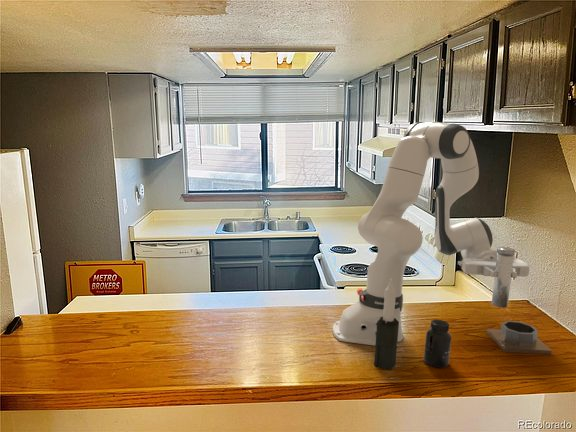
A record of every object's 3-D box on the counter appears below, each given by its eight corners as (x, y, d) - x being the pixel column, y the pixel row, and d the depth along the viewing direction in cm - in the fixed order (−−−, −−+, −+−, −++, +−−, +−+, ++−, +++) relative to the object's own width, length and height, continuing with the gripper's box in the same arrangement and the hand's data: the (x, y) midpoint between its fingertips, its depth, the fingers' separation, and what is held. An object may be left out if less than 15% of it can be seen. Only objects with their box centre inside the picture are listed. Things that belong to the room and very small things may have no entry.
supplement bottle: (450, 369, 125) (454, 329, 123) (424, 366, 126) (428, 326, 124) (446, 358, 131) (450, 319, 129) (422, 355, 133) (426, 316, 130)
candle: (396, 363, 127) (403, 278, 123) (390, 371, 123) (397, 283, 118) (379, 358, 130) (385, 274, 125) (372, 365, 125) (379, 279, 121)
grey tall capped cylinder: (494, 307, 139) (501, 250, 136) (488, 301, 144) (494, 246, 141) (511, 308, 139) (518, 251, 136) (504, 302, 144) (510, 247, 141)
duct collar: (504, 351, 137) (506, 335, 136) (486, 332, 150) (488, 317, 150) (551, 354, 136) (554, 338, 135) (529, 334, 150) (531, 319, 149)
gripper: (456, 252, 152) (471, 263, 139) (518, 254, 152) (539, 266, 138) (454, 270, 153) (469, 283, 140) (516, 272, 153) (536, 286, 139)
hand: (504, 275), depth 139 cm, fingers closed on grey tall capped cylinder, 5 cm apart
